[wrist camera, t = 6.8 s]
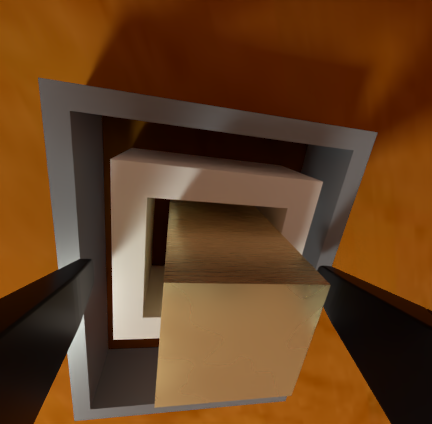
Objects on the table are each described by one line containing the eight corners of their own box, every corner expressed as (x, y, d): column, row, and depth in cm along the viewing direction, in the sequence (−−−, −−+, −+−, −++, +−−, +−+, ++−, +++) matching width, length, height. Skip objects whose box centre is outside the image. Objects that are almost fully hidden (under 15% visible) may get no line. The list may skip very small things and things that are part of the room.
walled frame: (325, 130, 13) (388, 132, 9) (265, 350, 18) (288, 409, 14) (81, 92, 10) (28, 74, 6) (95, 358, 15) (70, 432, 12)
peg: (243, 194, 13) (330, 284, 6) (232, 256, 14) (291, 395, 7) (170, 187, 12) (163, 282, 5) (166, 253, 14) (154, 407, 6)
